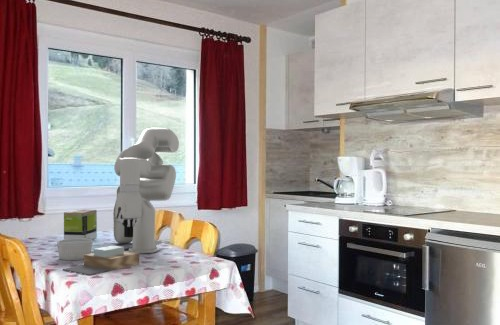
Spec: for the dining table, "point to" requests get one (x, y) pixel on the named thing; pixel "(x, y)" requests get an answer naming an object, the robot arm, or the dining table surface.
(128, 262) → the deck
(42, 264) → the dining table surface
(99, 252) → the grey-green rectangular block
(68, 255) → the ramekin
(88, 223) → the tea box
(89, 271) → the mat
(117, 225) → the grey bottle
